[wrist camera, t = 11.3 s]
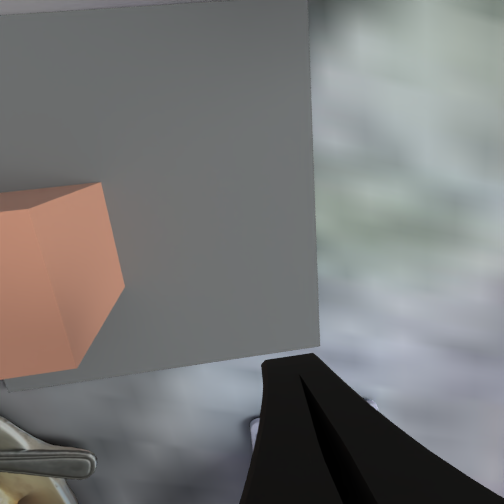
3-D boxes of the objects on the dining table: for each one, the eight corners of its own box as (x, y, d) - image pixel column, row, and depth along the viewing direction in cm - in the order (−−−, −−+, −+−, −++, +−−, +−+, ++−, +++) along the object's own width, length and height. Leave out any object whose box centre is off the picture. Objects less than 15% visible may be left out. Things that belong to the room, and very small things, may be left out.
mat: (318, 342, 20) (320, 346, 20) (12, 387, 19) (8, 392, 18) (305, -1, 15) (307, -5, 14) (-123, 27, 13) (-133, 23, 13)
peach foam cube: (124, 286, 17) (77, 368, 11) (16, 300, 17) (-97, 394, 11) (100, 181, 16) (28, 208, 9) (-20, 194, 15) (-178, 231, 9)
